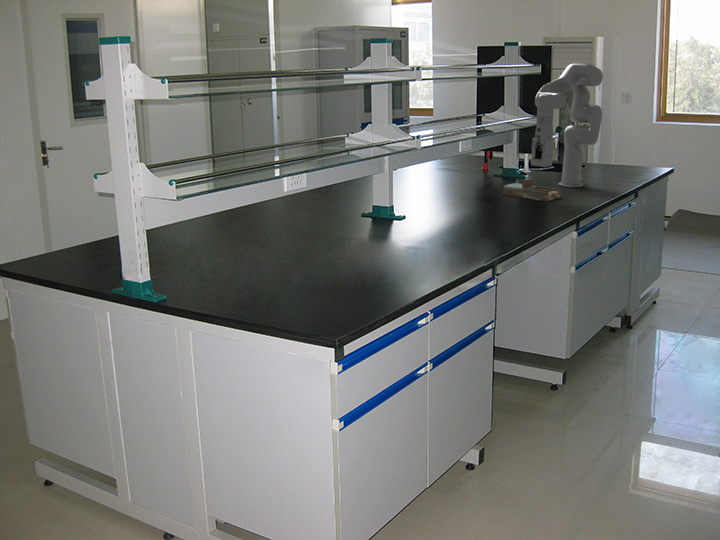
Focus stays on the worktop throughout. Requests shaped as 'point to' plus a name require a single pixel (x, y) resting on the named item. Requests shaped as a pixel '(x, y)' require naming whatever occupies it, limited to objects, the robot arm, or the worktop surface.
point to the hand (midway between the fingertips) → (541, 157)
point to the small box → (543, 154)
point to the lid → (523, 184)
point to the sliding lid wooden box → (533, 193)
